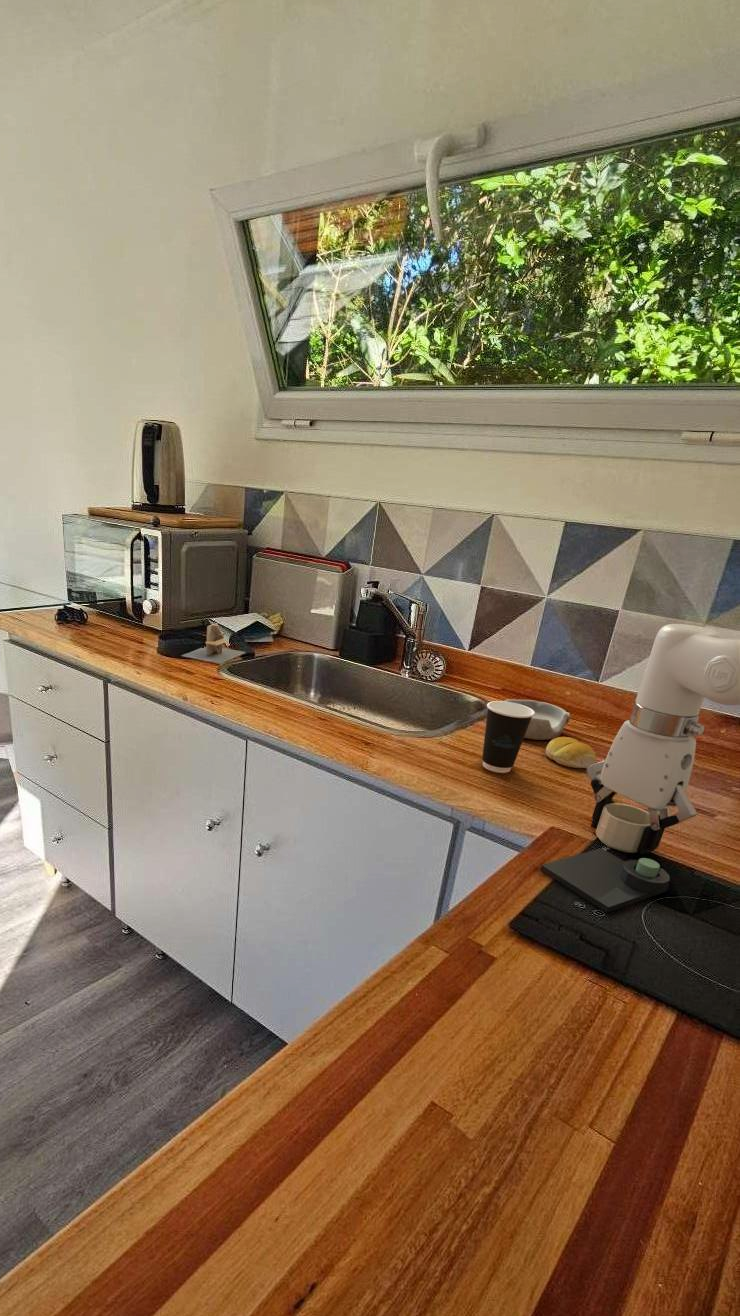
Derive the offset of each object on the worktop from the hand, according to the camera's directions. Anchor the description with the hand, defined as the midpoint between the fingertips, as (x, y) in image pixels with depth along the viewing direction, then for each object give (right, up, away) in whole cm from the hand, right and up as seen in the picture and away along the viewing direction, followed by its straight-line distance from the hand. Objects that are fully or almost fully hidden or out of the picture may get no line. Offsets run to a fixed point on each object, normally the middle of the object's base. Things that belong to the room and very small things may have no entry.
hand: (621, 837), depth 95 cm
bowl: (0, -1, 0) cm, 1 cm away
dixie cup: (-11, +10, +23) cm, 27 cm away
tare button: (-3, -3, -12) cm, 12 cm away
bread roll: (+5, +12, +29) cm, 32 cm away
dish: (+2, +19, +43) cm, 47 cm away
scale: (-7, -5, -10) cm, 13 cm away
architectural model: (-67, +41, +77) cm, 110 cm away
